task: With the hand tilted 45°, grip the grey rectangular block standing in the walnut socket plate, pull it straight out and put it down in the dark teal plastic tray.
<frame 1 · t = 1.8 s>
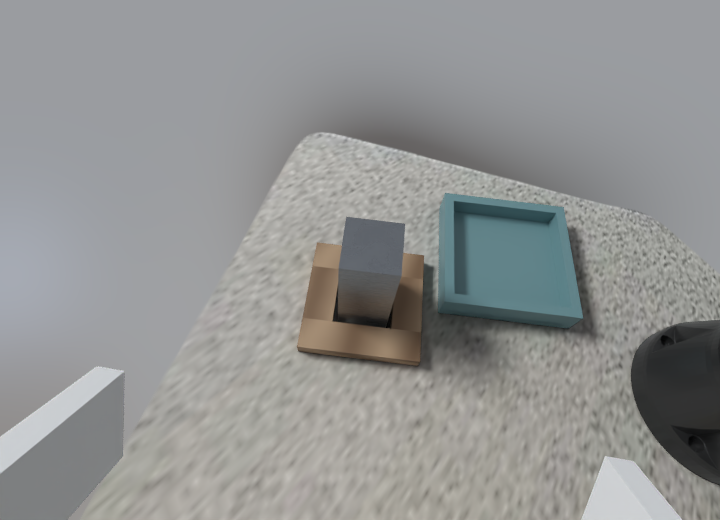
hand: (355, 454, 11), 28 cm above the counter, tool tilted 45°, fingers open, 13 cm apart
grey rectangular block: (367, 278, 38), in the socket plate
tray: (499, 263, 47), on the counter
socket plate: (364, 303, 43), on the counter
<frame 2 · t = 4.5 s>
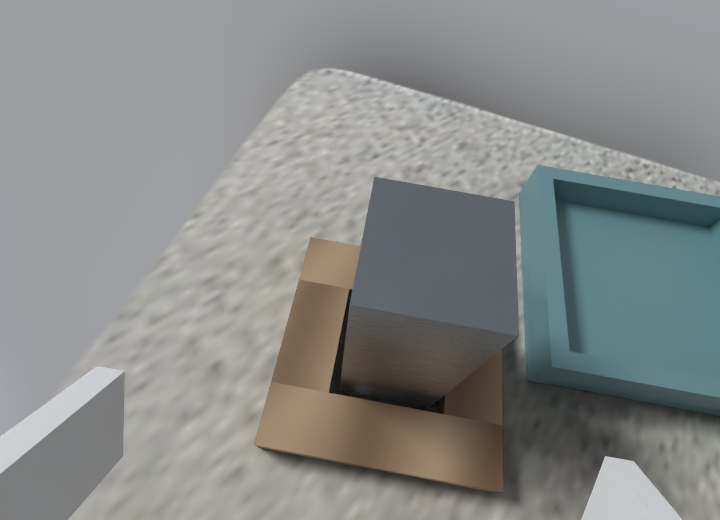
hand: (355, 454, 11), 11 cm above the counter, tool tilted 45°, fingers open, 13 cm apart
grey rectangular block: (407, 317, 18), in the socket plate
tray: (628, 293, 27), on the counter
socket plate: (389, 354, 23), on the counter
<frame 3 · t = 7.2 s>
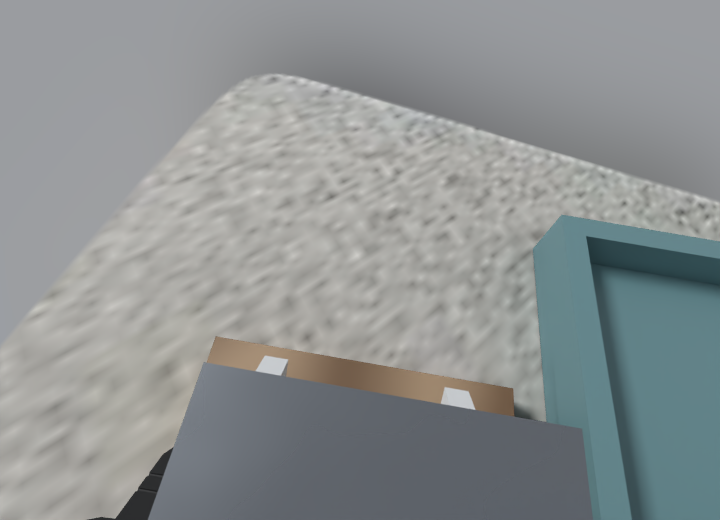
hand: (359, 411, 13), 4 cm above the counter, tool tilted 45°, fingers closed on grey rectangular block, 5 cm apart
tray: (701, 409, 18), on the counter
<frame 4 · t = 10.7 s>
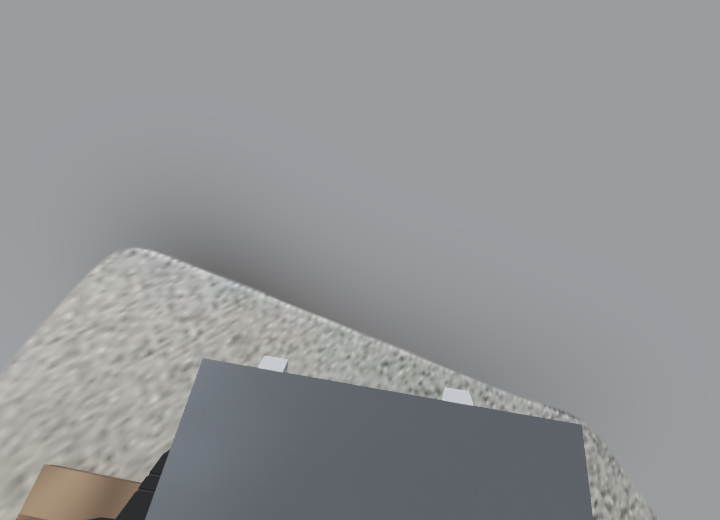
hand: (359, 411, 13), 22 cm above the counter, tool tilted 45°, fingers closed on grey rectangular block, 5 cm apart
when the fingers open (7 cm above the counter, at t = 14.2 s): grey rectangular block drops 2 cm, resting on tray.
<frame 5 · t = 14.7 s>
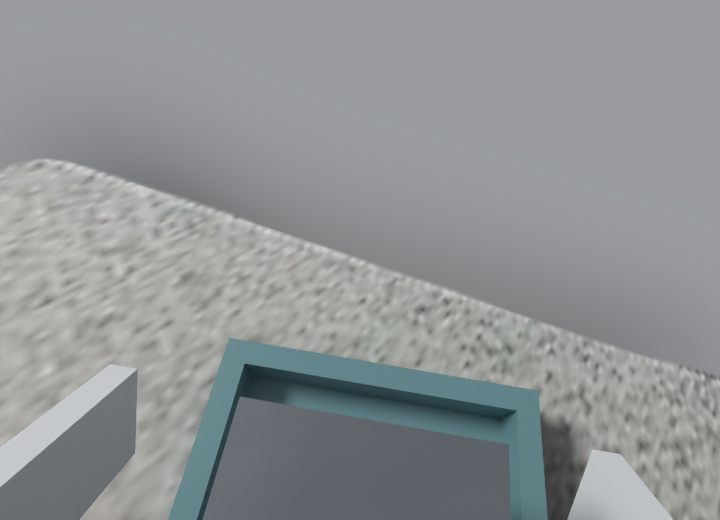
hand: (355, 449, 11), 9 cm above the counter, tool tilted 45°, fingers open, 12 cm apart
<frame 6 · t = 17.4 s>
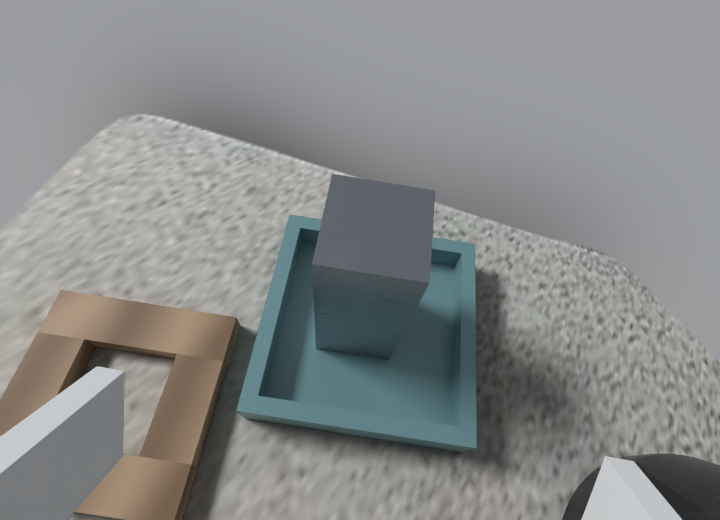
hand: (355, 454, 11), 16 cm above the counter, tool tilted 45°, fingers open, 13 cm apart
grey rectangular block: (365, 283, 23), in the tray, point 7 cm above the counter
tray: (366, 331, 29), on the counter
socket plate: (120, 398, 26), on the counter
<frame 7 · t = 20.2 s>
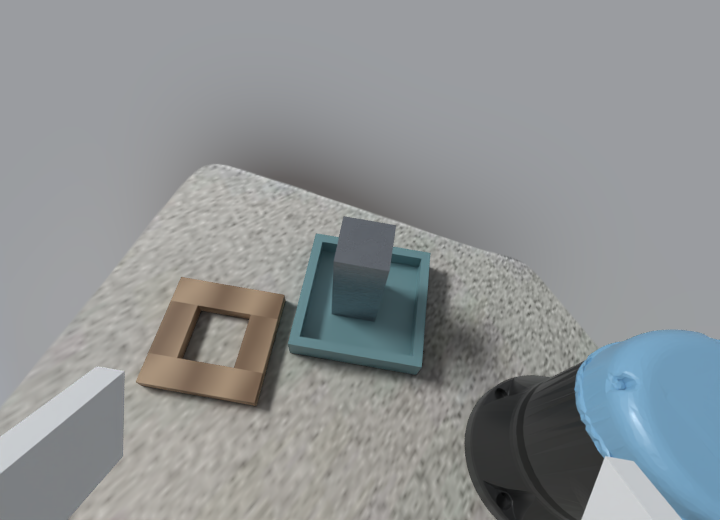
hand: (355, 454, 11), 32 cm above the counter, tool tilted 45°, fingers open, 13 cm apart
grey rectangular block: (360, 273, 42), in the tray, point 7 cm above the counter
tray: (362, 305, 48), on the counter
socket plate: (218, 340, 44), on the counter
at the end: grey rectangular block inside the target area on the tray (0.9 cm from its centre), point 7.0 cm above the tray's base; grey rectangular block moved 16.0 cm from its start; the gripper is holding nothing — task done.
